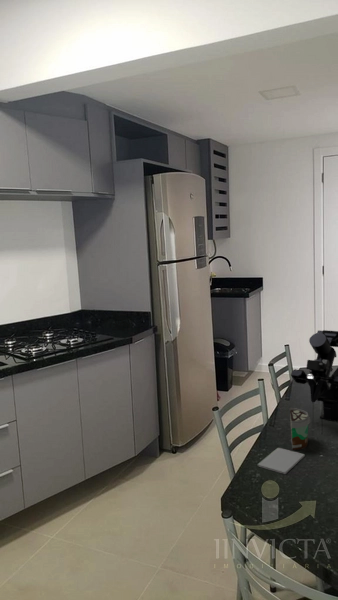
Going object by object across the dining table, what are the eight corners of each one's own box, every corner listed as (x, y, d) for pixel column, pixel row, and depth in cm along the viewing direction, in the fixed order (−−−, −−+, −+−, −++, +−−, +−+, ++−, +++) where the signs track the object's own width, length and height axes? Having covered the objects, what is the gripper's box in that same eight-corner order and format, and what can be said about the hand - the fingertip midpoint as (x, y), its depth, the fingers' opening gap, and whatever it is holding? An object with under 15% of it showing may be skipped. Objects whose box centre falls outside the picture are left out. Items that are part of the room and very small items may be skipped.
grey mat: (278, 449, 151) (277, 447, 151) (304, 456, 145) (304, 454, 145) (257, 466, 141) (257, 464, 141) (285, 474, 135) (285, 472, 135)
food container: (313, 452, 147) (311, 421, 145) (292, 452, 148) (291, 421, 147) (309, 435, 159) (308, 407, 157) (290, 435, 160) (289, 407, 159)
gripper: (291, 347, 167) (278, 386, 160) (344, 352, 155) (332, 395, 148) (302, 363, 174) (290, 401, 167) (353, 369, 162) (342, 410, 155)
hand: (312, 401), depth 159 cm, fingers closed
